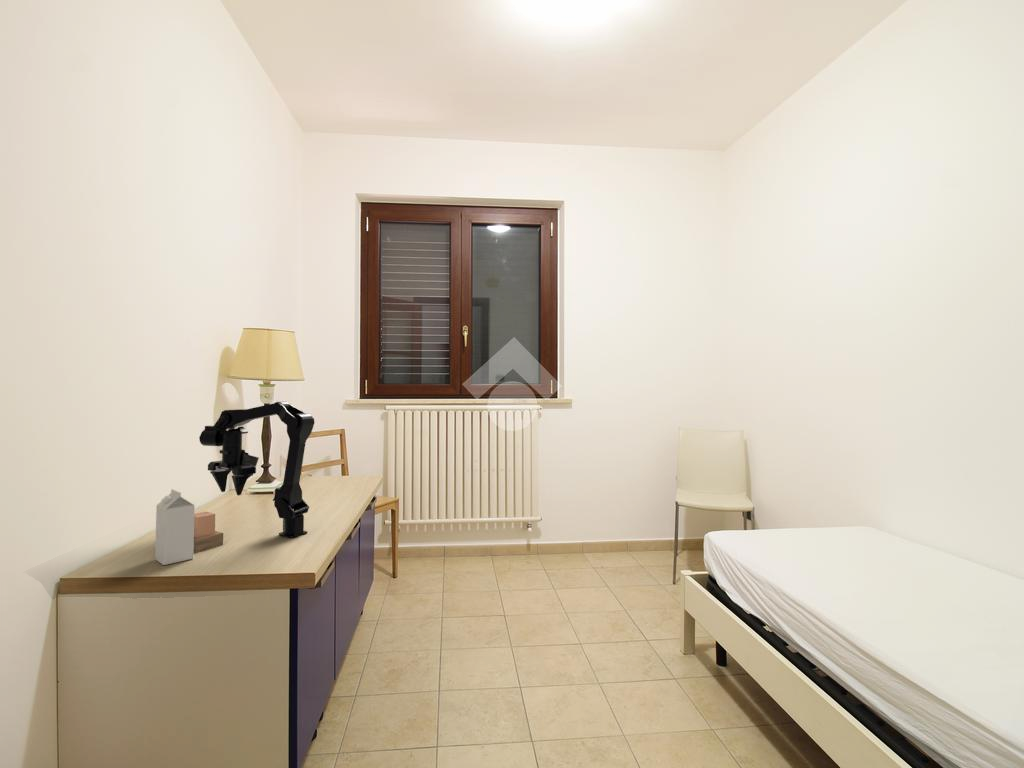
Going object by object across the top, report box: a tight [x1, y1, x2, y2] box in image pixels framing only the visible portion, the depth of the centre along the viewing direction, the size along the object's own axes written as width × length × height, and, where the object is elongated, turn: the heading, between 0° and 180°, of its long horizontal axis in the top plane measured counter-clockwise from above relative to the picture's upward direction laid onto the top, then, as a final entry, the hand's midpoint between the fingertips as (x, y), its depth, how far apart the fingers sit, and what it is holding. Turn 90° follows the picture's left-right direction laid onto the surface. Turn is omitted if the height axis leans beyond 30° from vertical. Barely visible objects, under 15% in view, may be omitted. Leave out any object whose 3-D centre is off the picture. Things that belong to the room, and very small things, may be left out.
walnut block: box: [193, 530, 224, 553], centre depth 149 cm, size 8×8×4 cm
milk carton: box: [154, 488, 195, 566], centre depth 138 cm, size 7×7×19 cm
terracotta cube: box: [194, 511, 216, 538], centre depth 149 cm, size 5×5×6 cm
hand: (231, 493), depth 167 cm, fingers open, 9 cm apart
